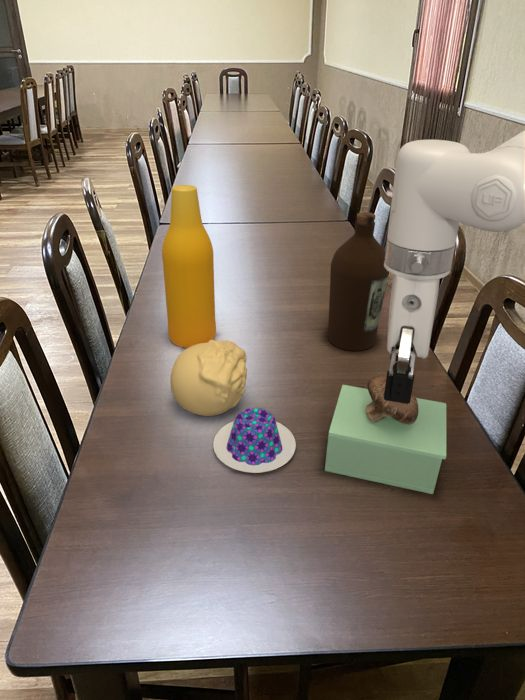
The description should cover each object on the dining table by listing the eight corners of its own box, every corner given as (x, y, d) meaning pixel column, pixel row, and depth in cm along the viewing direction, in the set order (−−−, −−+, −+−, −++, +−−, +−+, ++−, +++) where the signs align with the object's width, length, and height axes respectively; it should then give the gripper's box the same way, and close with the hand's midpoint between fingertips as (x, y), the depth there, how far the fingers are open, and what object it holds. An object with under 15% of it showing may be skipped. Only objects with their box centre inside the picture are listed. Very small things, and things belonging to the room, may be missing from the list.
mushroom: (349, 409, 70) (380, 372, 68) (352, 395, 78) (380, 362, 76) (398, 448, 69) (431, 412, 68) (396, 430, 77) (425, 398, 75)
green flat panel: (445, 406, 77) (446, 403, 77) (445, 459, 68) (446, 456, 67) (342, 387, 81) (342, 384, 80) (328, 435, 71) (328, 432, 71)
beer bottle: (220, 327, 109) (216, 182, 94) (210, 351, 101) (204, 196, 86) (175, 324, 110) (165, 179, 95) (162, 347, 102) (149, 193, 87)
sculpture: (234, 431, 81) (234, 372, 76) (161, 417, 84) (155, 359, 78) (255, 389, 91) (256, 334, 85) (188, 378, 93) (185, 323, 88)
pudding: (288, 483, 72) (290, 453, 70) (203, 469, 74) (201, 439, 72) (301, 427, 82) (303, 399, 80) (225, 416, 84) (224, 389, 82)
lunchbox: (434, 439, 81) (442, 406, 77) (433, 494, 71) (442, 459, 68) (338, 420, 84) (342, 388, 81) (324, 471, 74) (328, 436, 71)
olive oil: (314, 342, 105) (325, 216, 92) (338, 321, 112) (351, 202, 99) (365, 359, 100) (383, 228, 87) (386, 335, 107) (406, 212, 94)
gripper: (453, 289, 54) (427, 424, 62) (451, 235, 68) (430, 351, 77) (377, 280, 55) (362, 413, 64) (391, 230, 70) (377, 344, 78)
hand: (399, 379), depth 70 cm, fingers open, 9 cm apart
